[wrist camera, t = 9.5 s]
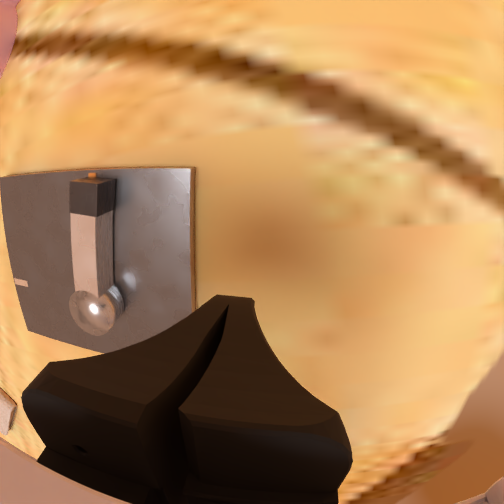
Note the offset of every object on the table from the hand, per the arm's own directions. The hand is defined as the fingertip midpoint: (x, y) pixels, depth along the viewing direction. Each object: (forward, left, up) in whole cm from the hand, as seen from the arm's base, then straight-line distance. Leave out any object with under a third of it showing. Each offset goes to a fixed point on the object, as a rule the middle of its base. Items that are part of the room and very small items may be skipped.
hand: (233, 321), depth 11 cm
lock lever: (-1, +11, -8) cm, 14 cm away
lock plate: (-3, +13, -9) cm, 16 cm away
